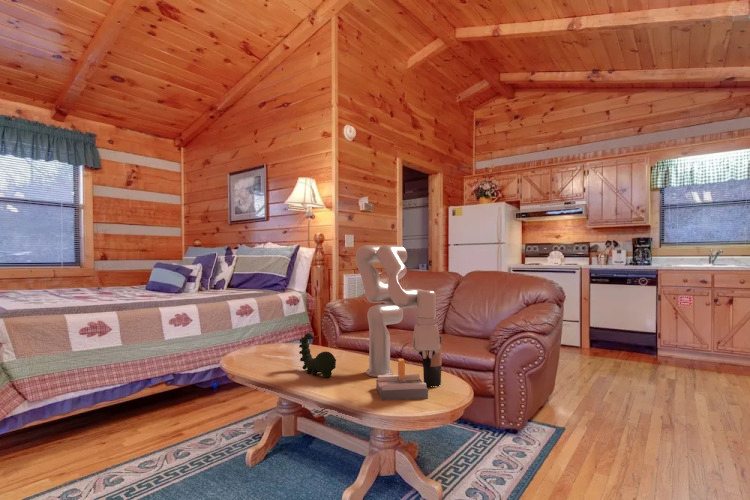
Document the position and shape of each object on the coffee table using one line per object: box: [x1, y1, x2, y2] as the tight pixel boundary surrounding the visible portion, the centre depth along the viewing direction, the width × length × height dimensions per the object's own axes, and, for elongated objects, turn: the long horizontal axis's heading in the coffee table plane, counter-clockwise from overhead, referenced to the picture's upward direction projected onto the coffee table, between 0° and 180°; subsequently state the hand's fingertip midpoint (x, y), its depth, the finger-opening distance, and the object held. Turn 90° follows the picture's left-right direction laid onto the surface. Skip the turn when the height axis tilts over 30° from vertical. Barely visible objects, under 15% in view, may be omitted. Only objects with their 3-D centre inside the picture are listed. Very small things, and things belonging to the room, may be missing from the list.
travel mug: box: [422, 335, 443, 388], centre depth 169 cm, size 8×8×20 cm
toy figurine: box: [298, 332, 337, 379], centre depth 183 cm, size 9×19×25 cm
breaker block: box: [375, 373, 429, 401], centre depth 158 cm, size 14×18×5 cm
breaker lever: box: [397, 358, 406, 383], centre depth 158 cm, size 4×2×9 cm, turn 7°
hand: (426, 367), depth 159 cm, fingers closed
